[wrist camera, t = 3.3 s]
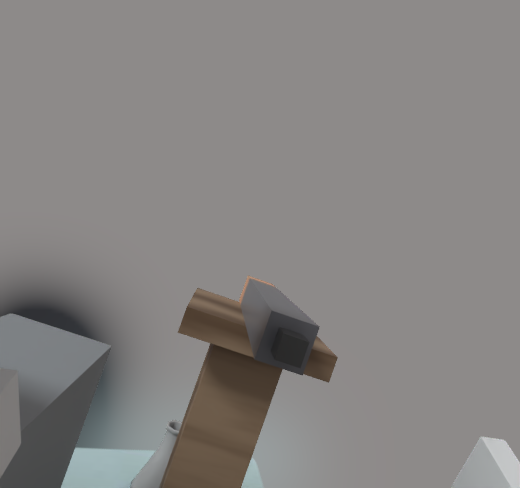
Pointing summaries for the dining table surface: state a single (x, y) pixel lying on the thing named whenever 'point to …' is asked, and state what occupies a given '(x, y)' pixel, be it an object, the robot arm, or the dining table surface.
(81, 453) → the dining table surface
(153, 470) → the flask
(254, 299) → the grey long bar
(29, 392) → the block
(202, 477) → the stand
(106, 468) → the dining table surface
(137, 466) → the dining table surface
